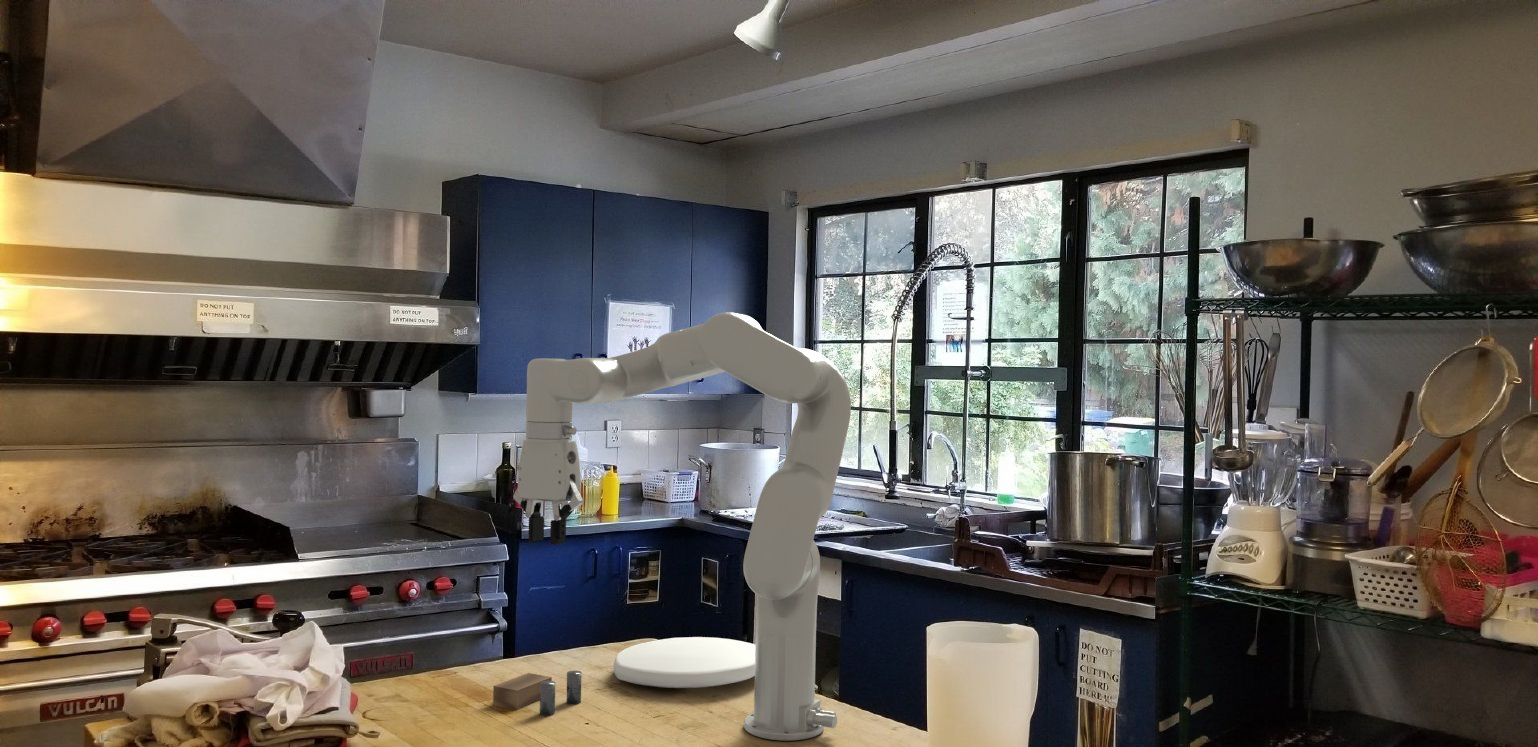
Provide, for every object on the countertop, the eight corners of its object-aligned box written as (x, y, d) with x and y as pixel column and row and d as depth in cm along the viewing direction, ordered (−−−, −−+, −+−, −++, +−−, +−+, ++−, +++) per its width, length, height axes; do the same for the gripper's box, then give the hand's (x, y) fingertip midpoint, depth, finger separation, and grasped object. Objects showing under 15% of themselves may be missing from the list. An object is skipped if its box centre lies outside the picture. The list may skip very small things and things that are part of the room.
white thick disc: (590, 664, 191) (641, 630, 217) (593, 701, 191) (643, 663, 217) (746, 659, 185) (778, 624, 211) (749, 697, 185) (781, 658, 211)
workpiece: (551, 697, 188) (551, 676, 188) (516, 711, 180) (517, 690, 180) (528, 692, 190) (528, 672, 190) (493, 706, 182) (493, 685, 182)
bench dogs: (583, 701, 185) (584, 671, 185) (548, 716, 177) (549, 685, 177) (572, 699, 186) (572, 669, 186) (536, 714, 178) (537, 683, 178)
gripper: (603, 433, 182) (601, 543, 182) (524, 429, 190) (522, 535, 190) (575, 435, 176) (573, 550, 176) (494, 431, 183) (492, 540, 183)
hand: (546, 541), depth 183 cm, fingers open, 3 cm apart
